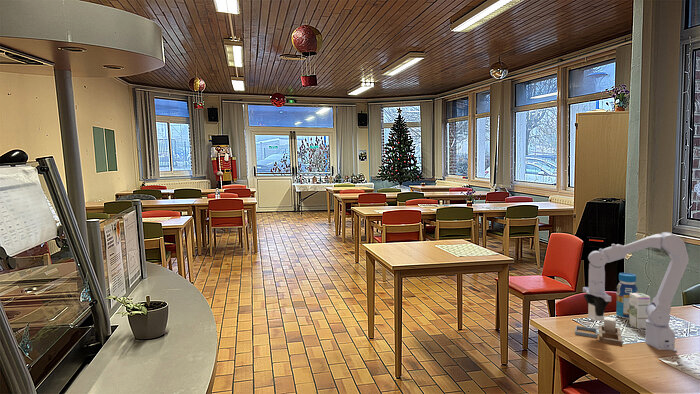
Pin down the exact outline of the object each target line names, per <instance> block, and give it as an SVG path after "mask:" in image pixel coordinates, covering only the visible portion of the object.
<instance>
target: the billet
mask: <svg viewBox="0 0 700 394" xmlns="http://www.w3.org/2000/svg"><path fill="white" fill-rule="evenodd" d="M616 325H617V320H616V318H615V317H609V316H604V320H603V326H604V331H608V332H615V333H616V328H617V327H616Z"/></svg>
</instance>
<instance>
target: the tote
mask: <svg viewBox="0 0 700 394" xmlns="http://www.w3.org/2000/svg"><path fill="white" fill-rule="evenodd" d="M578 330H580V331H578ZM582 330H583V331H589V332H583V331H582ZM590 332H593V333H590ZM594 332H595V333H594ZM574 333H575V334H574V335H576V336H583V337H589V338H594V339H595V338H596V339H597V338H598V328H595V327H587V326H581V325H575V331H574Z"/></svg>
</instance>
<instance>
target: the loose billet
mask: <svg viewBox="0 0 700 394" xmlns="http://www.w3.org/2000/svg"><path fill="white" fill-rule="evenodd" d="M587 309H588V310H587V311H588V312H587V314H588V315H587V317H588V319H590V320H593V321H594V322H597V321H598V322H599V321H604V317H605V313H604V314H603V316H597V313H596V305H595V303H588V304H587Z"/></svg>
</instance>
